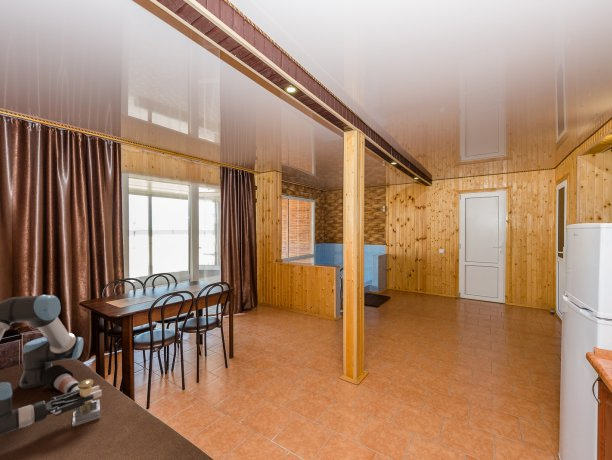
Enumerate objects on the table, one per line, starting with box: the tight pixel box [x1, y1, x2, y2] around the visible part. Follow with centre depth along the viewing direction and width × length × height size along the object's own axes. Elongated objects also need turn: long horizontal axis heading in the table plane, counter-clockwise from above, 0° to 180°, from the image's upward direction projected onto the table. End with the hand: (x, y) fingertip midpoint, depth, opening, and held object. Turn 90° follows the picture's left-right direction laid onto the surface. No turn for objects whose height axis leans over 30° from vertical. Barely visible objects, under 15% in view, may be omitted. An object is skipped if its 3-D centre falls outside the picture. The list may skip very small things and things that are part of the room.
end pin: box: [78, 378, 94, 414], centre depth 136 cm, size 6×6×13 cm
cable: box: [42, 364, 80, 398], centre depth 154 cm, size 10×34×10 cm, turn 62°
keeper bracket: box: [71, 399, 101, 427], centre depth 136 cm, size 11×10×4 cm
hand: (100, 390), depth 140 cm, fingers closed on end pin, 4 cm apart
